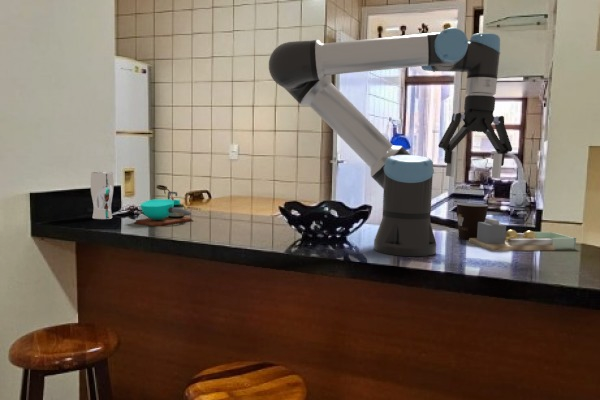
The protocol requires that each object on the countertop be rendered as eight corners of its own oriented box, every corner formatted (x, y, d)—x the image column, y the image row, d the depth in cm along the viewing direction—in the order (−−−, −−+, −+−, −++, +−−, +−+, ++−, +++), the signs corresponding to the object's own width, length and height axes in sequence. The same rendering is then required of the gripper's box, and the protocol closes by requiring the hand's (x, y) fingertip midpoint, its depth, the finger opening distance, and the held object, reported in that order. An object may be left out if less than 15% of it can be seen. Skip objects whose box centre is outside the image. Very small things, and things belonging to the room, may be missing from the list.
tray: (552, 249, 140) (552, 238, 139) (528, 242, 150) (529, 232, 149) (575, 249, 141) (576, 238, 141) (550, 242, 151) (551, 231, 151)
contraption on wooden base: (203, 222, 170) (203, 175, 169) (163, 229, 155) (163, 178, 153) (170, 218, 177) (170, 173, 175) (129, 224, 161) (129, 175, 160)
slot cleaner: (487, 244, 138) (489, 220, 138) (476, 240, 144) (478, 217, 143) (504, 243, 139) (506, 220, 139) (493, 240, 145) (494, 217, 144)
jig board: (492, 251, 135) (493, 240, 135) (468, 242, 147) (469, 232, 147) (554, 250, 139) (555, 240, 138) (526, 241, 150) (527, 232, 150)
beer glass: (89, 220, 167) (88, 173, 165) (93, 217, 174) (92, 171, 172) (112, 220, 168) (111, 173, 167) (115, 217, 175) (114, 172, 173)
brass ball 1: (508, 242, 142) (509, 230, 141) (502, 240, 145) (502, 228, 145) (519, 242, 142) (520, 230, 142) (512, 240, 146) (513, 228, 145)
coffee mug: (487, 242, 148) (490, 206, 147) (456, 240, 150) (458, 205, 149) (482, 235, 159) (484, 202, 158) (452, 233, 161) (454, 201, 160)
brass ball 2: (527, 243, 141) (528, 231, 141) (520, 241, 144) (521, 229, 144) (538, 243, 142) (539, 231, 141) (530, 241, 145) (531, 229, 144)
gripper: (443, 91, 130) (436, 176, 133) (531, 98, 136) (523, 180, 138) (429, 93, 138) (423, 174, 140) (513, 100, 143) (506, 177, 146)
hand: (472, 177), depth 139 cm, fingers open, 13 cm apart
